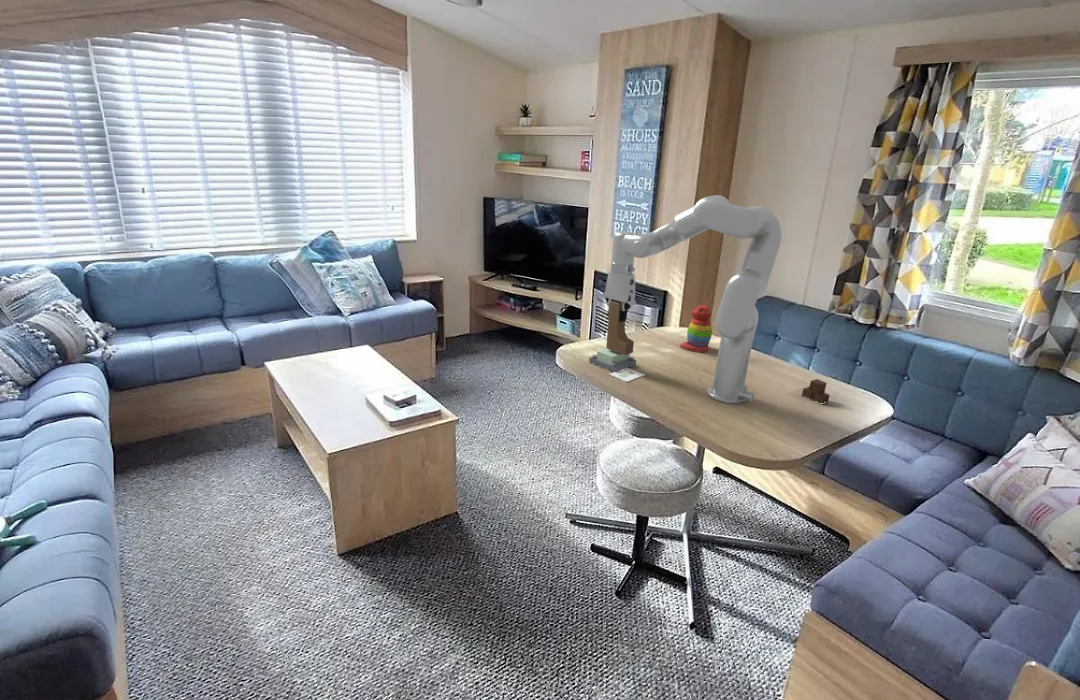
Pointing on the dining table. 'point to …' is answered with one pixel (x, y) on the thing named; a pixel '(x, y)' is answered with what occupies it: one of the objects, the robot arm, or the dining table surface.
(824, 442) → the dining table surface
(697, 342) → the stacking bear
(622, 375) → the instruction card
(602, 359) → the baseplate
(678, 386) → the dining table surface
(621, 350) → the wooden block
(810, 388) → the stack of crates
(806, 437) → the dining table surface
